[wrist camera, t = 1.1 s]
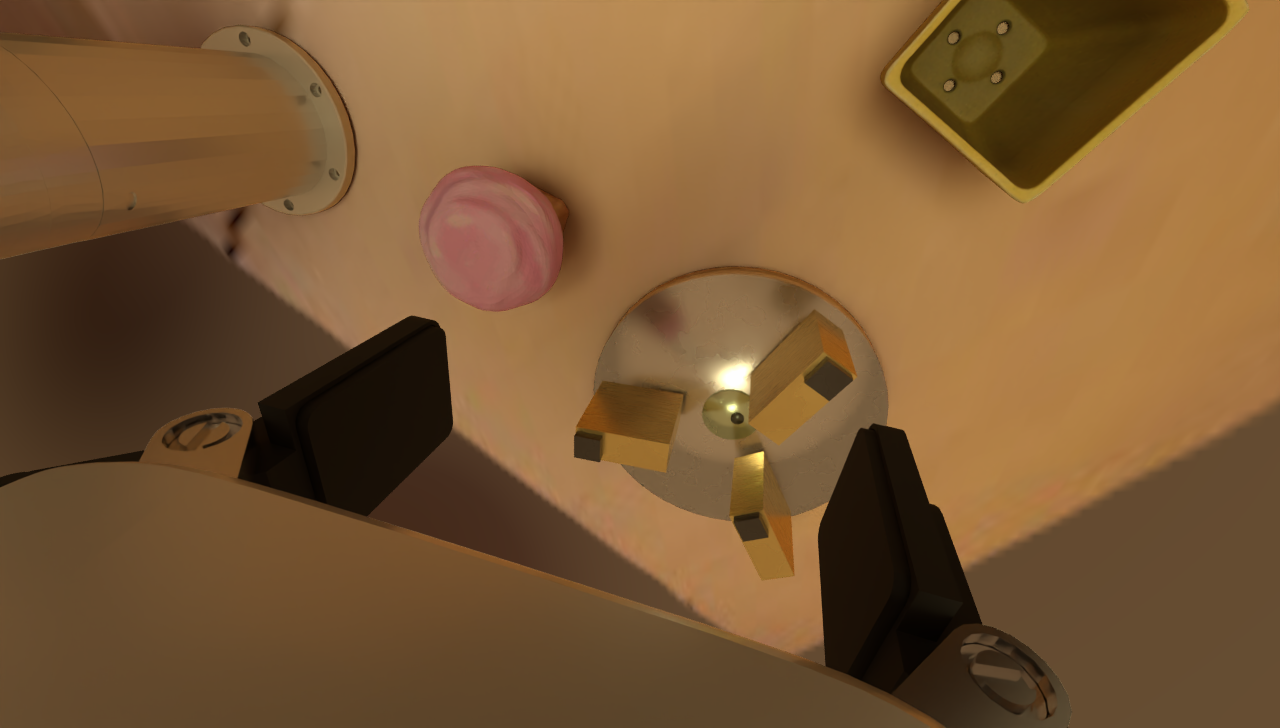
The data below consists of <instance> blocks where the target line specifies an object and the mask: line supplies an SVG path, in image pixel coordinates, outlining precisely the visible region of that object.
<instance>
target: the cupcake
mask: <svg viewBox="0 0 1280 728" xmlns="http://www.w3.org/2000/svg"><path fill="white" fill-rule="evenodd" d="M568 216H569V212H568V209H567V207H566V206H565V204H564V202H563V201H562V200H561V199H559V198H556V197H554V196H552V195H551V194H548V193H546V192H544V191H543V190H541V189H538V188H536V187H534V186H533V185H532V184H530V183H529V182H528V181H526V180H525V179H523V178H522V177H520V176H518V175H516V174H513V173H510V172H508V171H505V170H503V169H499V168H496V167H488V166H468V167H462V168H458V169H455V170H454V171H452V172H450V173H449V174H447V175H446V176H444V177H443V178H442V179H441V180H440V181H439V183H438V184H437V185H436V187H435V188H434V189H433V191H432V193H431V194H430V196H429V197H428V199H427V200H426V202H425V204H424V206H423V208H422V211H421V216H420V219H419V235H420V241H421V245H422V248H423V251H424V254H425V256H426V259H427V261H428V263H429V265H430V267H431V269H432V271H433V273H434V275H435V276H436V278H437V279H438V281H439V282H440V283H441V285H442V286H443V287H444V288H445V289H446V290H447V291H448V292H449V293H450V294H452V295H453V296H454V297H456V298H458V299H459V300H461V301H463V302H465V303H467V304H470V305H472V306H474V307H476V308H478V309H481V310H486V311H506V310H509V309H513V308H516V307H519V306H522V305H526V304H529V303H532V302H534V301H536V300H538V299H539V298H540V297H542V296H543V295H544V294H546V293H547V291H548V290H549V289H550V288H551V287H552V286H553V284H554V283H555V281H556V279H557V277H558V274H559V271H560V268H561V263H562V256H563V235H562V232H563V230H564V229H565V225H566V221H567V218H568Z"/></svg>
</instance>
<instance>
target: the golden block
mask: <svg viewBox="0 0 1280 728" xmlns="http://www.w3.org/2000/svg"><path fill="white" fill-rule="evenodd" d="M682 401H683V394H678V393H673V392H667V391H661V390H655V389H649V388H644V387H638V386H632V385H626V384H620V383H614V382H609V381H602V382H601V384H600V386H599V388H598V389H597V391H596V393H595V395H594V396H593V398H592V400H591V401H590V403H589V405H588V407H587V408H586V410H585V412H584V414H583V415H582V417H581V419H580V421H579V422H578V424H577V426H576V434H575V436H574V457H576V458H581V459H586V460H591V461H596V462H600V460H604V461H609V462H614V463H619V464H624V465H629V466H634V467H639V468H644V469H649V470H654V471H659V472H664V473H666V471H667V467H668V464H669V460H670V456H671V453H672V449H673V445H674V441H675V438H676V434H677V430H678V426H679V423H680V417H681V409H682Z"/></svg>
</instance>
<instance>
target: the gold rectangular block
mask: <svg viewBox="0 0 1280 728" xmlns="http://www.w3.org/2000/svg"><path fill="white" fill-rule="evenodd" d="M856 378H857V374H856V371H855V368H854V364H853V361H852V358H851V355H850V352H849V349H848V346H847V343H846V339H845V336H844V333H843V330H842V329H840V328H839V327H838V326H836V325H835V324H834V323H832V322H831V321H830V320H828V319H827V318H826V317H824V316H823V315H822V314H820V313H819V312H818V311H816V310H815V309H814V310H813V311H812V312H811V313H810V314H809V315H808V316H807V317H806V318H805V319H804V320H803V321H802V322H801V323H800V324H799V325H798V326H797V327H796V328H795V329H794V330H793V331H792V333H791V334H790V335H789V336H788V337H787V338H786V339H785V340H784V341H783V342H782V343H781V344H780V345H779V346H778V347H777V348H776V349H775V350H774V351H773V352H772V353H771V354H770V355H769V356H768V357H767V358H766V359H765V360H764V361H763V362H762V363H761V364H760V365H759V366H758V367H757V368H756V369H755V370H754V371H753V372H752V373H751V383H750V401H749V418H748V424H749V425H751V426H752V427H753V428H755V429H756V430H758V431H759V432H760V433H762V434H763V435H765V436H766V437H767V438H769V439H770V440H772V441H773V442H775V443H776V444H777V445H780V444H781V443H782V442H784V441H785V440H786V439H787V438H788V437H789V436H790V435H792V434H793V433H794V432H795V431H796V430H797V429H798V428H800V427H801V426H802V425H803V424H804V423H805V422H806V421H808V420H809V419H810V418H811V417H812V416H813V415H814V414H816V413H817V412H818V411H819V410H820V409H821V408H822V407H824V406H825V405H826V404H827V403H828V402H829V401H830V400H832V399H833V398H834V397H835V396H836V395H837V394H838V393H840V392H841V391H842V390H843V389H844V388H845V387H846V386H848V385H849V384H850V383H851V382H852V381H853V380H854V379H856Z"/></svg>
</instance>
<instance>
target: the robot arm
mask: <svg viewBox="0 0 1280 728" xmlns="http://www.w3.org/2000/svg"><path fill="white" fill-rule="evenodd" d="M354 164H355V147H354V139H353V133H352V129H351V125H350V122H349V118H348V115H347V113H346V110H345V108H344V105H343V103H342V101H341V98H340V96H339V95H338V93H337V91H336V90H335V88H334V86H333V84H332V83H331V81H330V79H329V78H328V77H327V76H326V74H325V73H324V72H323V70H322V69H321V68H320V66H319V65H318V64H317V63H316V62H315V61H314V60H313V59H312V58H311V57H310V56H309V55H308V54H307V53H306V52H305V51H304V50H303V49H302V48H300V47H299V46H297V45H296V44H295V43H293V42H292V41H290V40H289V39H288V38H286V37H284V36H282V35H280V34H277V33H275V32H273V31H271V30H267V29H263V28H259V27H253V26H245V25H236V26H229V27H224V28H222V29H220V30H218V31H216V32H214V33H212V34H211V35H210V36H209V37H208V38H207V39H206V40H205V41H204V42H203V44H202V46H201V47H200V48H190V47H177V46H165V45H153V44H141V43H129V42H117V41H105V40H93V39H81V38H69V37H57V36H45V35H33V34H20V33H8V32H0V259H4V258H8V257H12V256H16V255H21V254H25V253H30V252H34V251H39V250H43V249H47V248H52V247H57V246H61V245H66V244H71V243H75V242H81V241H86V240H90V239H95V238H99V237H104V236H109V235H114V234H118V233H123V232H127V231H132V230H137V229H142V228H146V227H151V226H156V225H160V224H165V223H170V222H174V221H179V220H184V219H188V218H193V217H198V216H202V215H207V214H212V213H216V212H221V211H226V210H230V209H235V208H240V207H244V206H249V205H254V204H258V203H261V204H263V205H265V206H267V207H269V208H271V209H273V210H275V211H278V212H282V213H285V214H289V215H300V216H303V215H309V214H315V213H318V212H321V211H324V210H327V209H329V208H331V207H332V206H334V205H335V204H337V203H338V202H339V200H340V199H341V198H342V197H343V196H344V195H345V193H346V191H347V189H348V187H349V185H350V183H351V180H352V176H353V172H354ZM258 405H259V408H260V411H261V414H262V417H260V418H259V419H257V420H255V421H253V418H252V417H251V416H250V415H249V413H248V412H245V411H243V410H240V409H234V408H215V409H208V410H202V411H198V412H194V413H191V414H188V415H185V416H182V417H180V418H178V419H175V420H173V421H171V422H169V423H168V424H166V425H165V426H163V427H162V428H160V429H159V430H158V431H157V432H156V433H155V434H154V436H153V437H152V438H151V440H150V441H149V443H148V445H147V447H146V449H145V450H144V451H138V452H133V453H127V454H122V455H116V456H111V457H106V458H100V459H94V460H89V461H83V462H78V463H73V464H67V465H62V466H56V467H51V468H45V469H40V470H34V471H30V472H20V473H15V474H10V475H6V476H3V477H0V728H1068V725H1069V722H1070V717H1071V713H1072V711H1071V706H1070V701H1069V697H1068V694H1067V692H1066V691H1065V689H1064V687H1063V685H1062V683H1061V682H1060V679H1059V678H1058V677H1057V675H1056V674H1055V673H1054V672H1053V671H1052V669H1051V668H1050V667H1049V666H1048V665H1047V663H1046V662H1045V661H1044V660H1043V659H1042V658H1041V657H1040V656H1038V655H1037V654H1036V653H1035V652H1034V651H1033V650H1032V649H1031V648H1029V647H1028V646H1026V645H1025V644H1024V643H1022V642H1021V641H1019V640H1018V639H1016V638H1015V637H1013V636H1012V635H1010V634H1008V633H1005V632H1003V631H1001V630H999V629H997V628H994V627H991V626H987V625H982V622H981V619H980V616H979V614H978V611H977V608H976V606H975V603H974V600H973V597H972V594H971V592H970V589H969V586H968V583H967V580H966V578H965V575H964V572H963V569H962V567H961V564H960V561H959V558H958V556H957V553H956V550H955V547H954V545H953V542H952V539H951V536H950V534H949V531H948V528H947V525H946V523H945V520H944V517H943V514H942V513H941V511H940V509H939V508H938V507H937V506H935V505H933V504H929V501H928V498H927V495H926V492H925V489H924V486H923V484H922V481H921V478H920V475H919V472H918V469H917V466H916V463H915V460H914V457H913V454H912V451H911V448H910V445H909V442H908V439H907V436H906V434H905V432H904V431H903V430H901V429H896V428H892V427H888V426H883V425H879V424H875V423H873V424H872V425H871V426H870V427H869V429H865V428H860V429H859V430H858V432H857V434H856V437H855V439H854V442H853V444H852V447H851V449H850V452H849V454H848V457H847V459H846V461H845V464H844V466H843V469H842V471H841V474H840V476H839V479H838V481H837V484H836V486H835V489H834V491H833V493H832V496H831V498H830V501H829V503H828V506H827V508H826V511H825V513H824V516H823V518H822V520H821V523H820V527H819V533H818V548H819V564H820V581H821V597H822V614H823V631H824V647H825V663H826V666H823V665H821V664H818V663H815V662H813V661H810V660H808V659H805V658H802V657H800V656H797V655H794V654H791V653H788V652H785V651H782V650H779V649H777V648H774V647H771V646H768V645H765V644H762V643H759V642H756V641H753V640H750V639H747V638H744V637H741V636H738V635H735V634H732V633H729V632H727V631H724V630H721V629H718V628H715V627H712V626H709V625H706V624H703V623H700V622H697V621H693V620H690V619H687V618H684V617H681V616H678V615H675V614H672V613H669V612H666V611H663V610H659V609H656V608H653V607H650V606H647V605H644V604H641V603H638V602H635V601H632V600H628V599H625V598H622V597H619V596H616V595H613V594H610V593H607V592H603V591H601V590H597V589H594V588H591V587H588V586H585V585H582V584H579V583H576V582H573V581H569V580H566V579H563V578H560V577H557V576H554V575H551V574H547V573H544V572H541V571H538V570H535V569H532V568H529V567H525V566H522V565H519V564H516V563H513V562H510V561H506V560H503V559H500V558H497V557H494V556H491V555H487V554H484V553H481V552H478V551H475V550H472V549H468V548H465V547H462V546H459V545H456V544H453V543H450V542H446V541H443V540H440V539H436V538H434V537H431V536H427V535H424V534H421V533H417V532H415V531H411V530H408V529H405V528H401V527H398V526H395V525H392V524H389V523H385V522H382V521H379V520H375V519H372V518H369V517H367V516H368V515H369V514H370V513H371V512H372V511H373V510H374V509H375V508H376V507H377V506H378V505H379V504H380V503H381V502H382V501H383V500H384V499H385V498H386V497H387V496H388V495H389V494H390V493H391V492H392V491H393V490H394V489H395V488H396V487H397V486H398V485H399V484H400V483H401V482H402V481H403V480H404V479H405V478H406V477H407V476H408V475H409V474H410V473H411V472H412V471H413V470H415V468H416V467H418V466H419V464H420V463H422V462H423V460H425V459H426V458H427V457H428V456H429V455H430V454H431V453H432V452H433V451H434V450H435V449H436V448H437V447H438V446H439V445H440V444H441V443H442V442H443V441H444V440H445V439H446V438H447V437H448V436H449V434H450V432H451V430H452V426H453V416H452V405H451V393H450V381H449V370H448V358H447V346H446V335H445V332H444V330H443V329H441V328H440V326H439V324H438V323H437V322H436V321H434V320H430V319H425V318H421V317H417V316H409V317H407V318H405V319H403V320H402V321H400V322H398V323H396V324H395V325H393V326H391V327H389V328H388V329H386V330H384V331H382V332H381V333H379V334H377V335H375V336H374V337H372V338H370V339H368V340H367V341H365V342H363V343H361V344H360V345H358V346H356V347H354V348H353V349H351V350H349V351H347V352H346V353H344V354H342V355H340V356H339V357H337V358H335V359H333V360H332V361H330V362H328V363H326V364H325V365H323V366H321V367H319V368H318V369H316V370H314V371H312V372H311V373H309V374H307V375H305V376H304V377H302V378H300V379H298V380H297V381H295V382H293V383H291V384H290V385H288V386H286V387H284V388H283V389H281V390H279V391H277V392H276V393H274V394H272V395H271V396H269V397H267V398H265V399H263V400H262V401H260V402H258Z"/></svg>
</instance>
